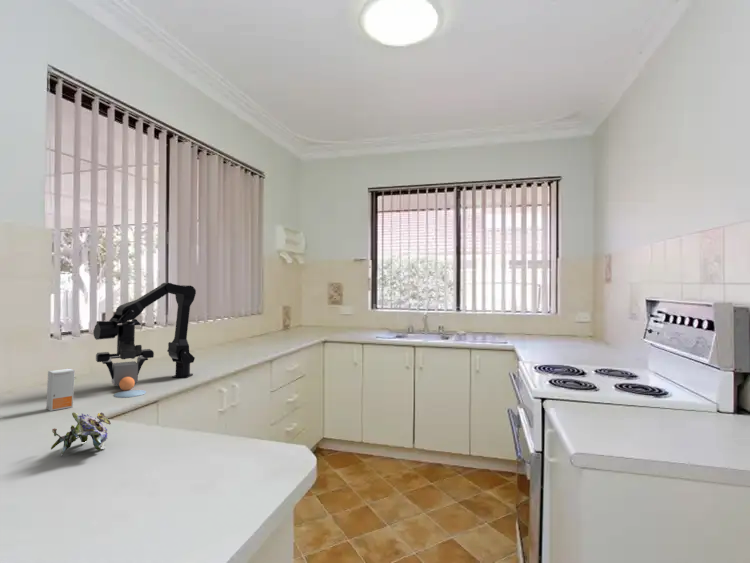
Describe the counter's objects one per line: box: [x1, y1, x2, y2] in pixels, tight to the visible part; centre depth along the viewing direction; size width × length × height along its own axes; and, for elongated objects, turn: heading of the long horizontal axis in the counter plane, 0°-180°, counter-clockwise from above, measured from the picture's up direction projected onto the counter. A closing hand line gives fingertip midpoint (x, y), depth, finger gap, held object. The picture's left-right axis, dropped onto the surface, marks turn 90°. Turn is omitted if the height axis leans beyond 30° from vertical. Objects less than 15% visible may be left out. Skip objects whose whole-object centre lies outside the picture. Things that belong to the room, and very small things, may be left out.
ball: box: [118, 377, 136, 391], centre depth 152 cm, size 5×5×5 cm
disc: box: [113, 389, 147, 399], centre depth 147 cm, size 10×10×1 cm
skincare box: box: [45, 368, 75, 412], centre depth 129 cm, size 6×4×12 cm
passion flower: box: [50, 412, 112, 455], centre depth 96 cm, size 11×11×12 cm
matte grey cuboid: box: [111, 360, 139, 387], centre depth 158 cm, size 8×8×7 cm
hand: (124, 377), depth 158 cm, fingers closed on matte grey cuboid, 8 cm apart
